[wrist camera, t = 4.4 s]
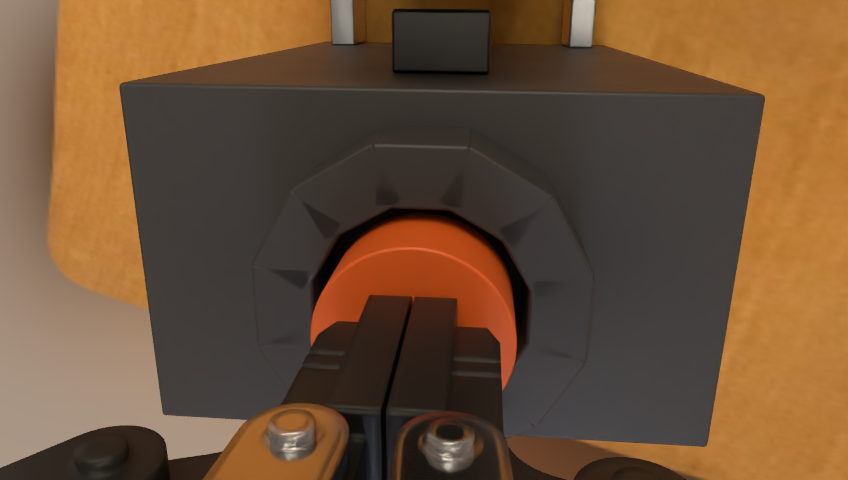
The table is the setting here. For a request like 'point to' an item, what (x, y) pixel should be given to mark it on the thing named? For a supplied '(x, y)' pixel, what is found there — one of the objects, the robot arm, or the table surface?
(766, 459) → the table surface
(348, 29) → the frame
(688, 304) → the coffee maker
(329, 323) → the button
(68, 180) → the table surface
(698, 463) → the table surface
